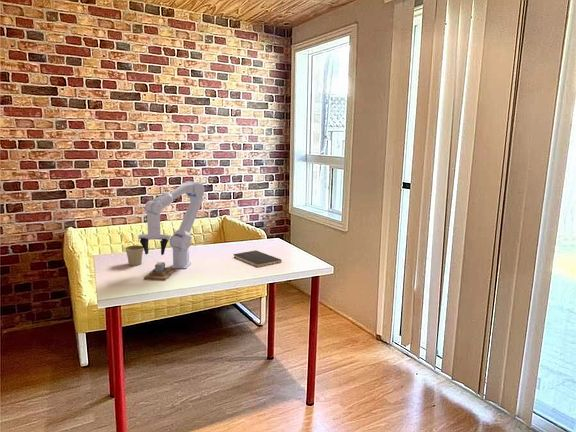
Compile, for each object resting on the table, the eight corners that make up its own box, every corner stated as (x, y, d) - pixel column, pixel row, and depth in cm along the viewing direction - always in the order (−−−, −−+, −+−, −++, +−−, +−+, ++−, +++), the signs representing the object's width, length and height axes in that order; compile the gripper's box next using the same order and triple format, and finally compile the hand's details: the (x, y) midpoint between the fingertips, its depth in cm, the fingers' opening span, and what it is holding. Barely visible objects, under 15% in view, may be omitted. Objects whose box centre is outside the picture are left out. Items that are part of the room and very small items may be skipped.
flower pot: (130, 267, 206) (129, 250, 204) (122, 263, 212) (121, 247, 210) (148, 264, 212) (147, 247, 211) (139, 260, 219) (138, 244, 217)
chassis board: (155, 270, 203) (155, 265, 202) (175, 271, 202) (175, 266, 202) (144, 279, 189) (143, 274, 188) (165, 280, 188) (165, 275, 188)
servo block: (159, 271, 198) (158, 260, 197) (165, 271, 198) (164, 260, 197) (155, 274, 193) (154, 263, 192) (161, 274, 193) (161, 263, 192)
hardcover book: (257, 268, 212) (257, 263, 212) (233, 258, 229) (233, 254, 229) (281, 263, 222) (281, 259, 222) (256, 253, 240) (256, 250, 239)
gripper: (135, 227, 190) (136, 255, 193) (166, 228, 190) (167, 256, 192) (141, 224, 197) (142, 252, 200) (171, 225, 197) (171, 252, 199)
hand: (154, 254), depth 197 cm, fingers open, 7 cm apart
